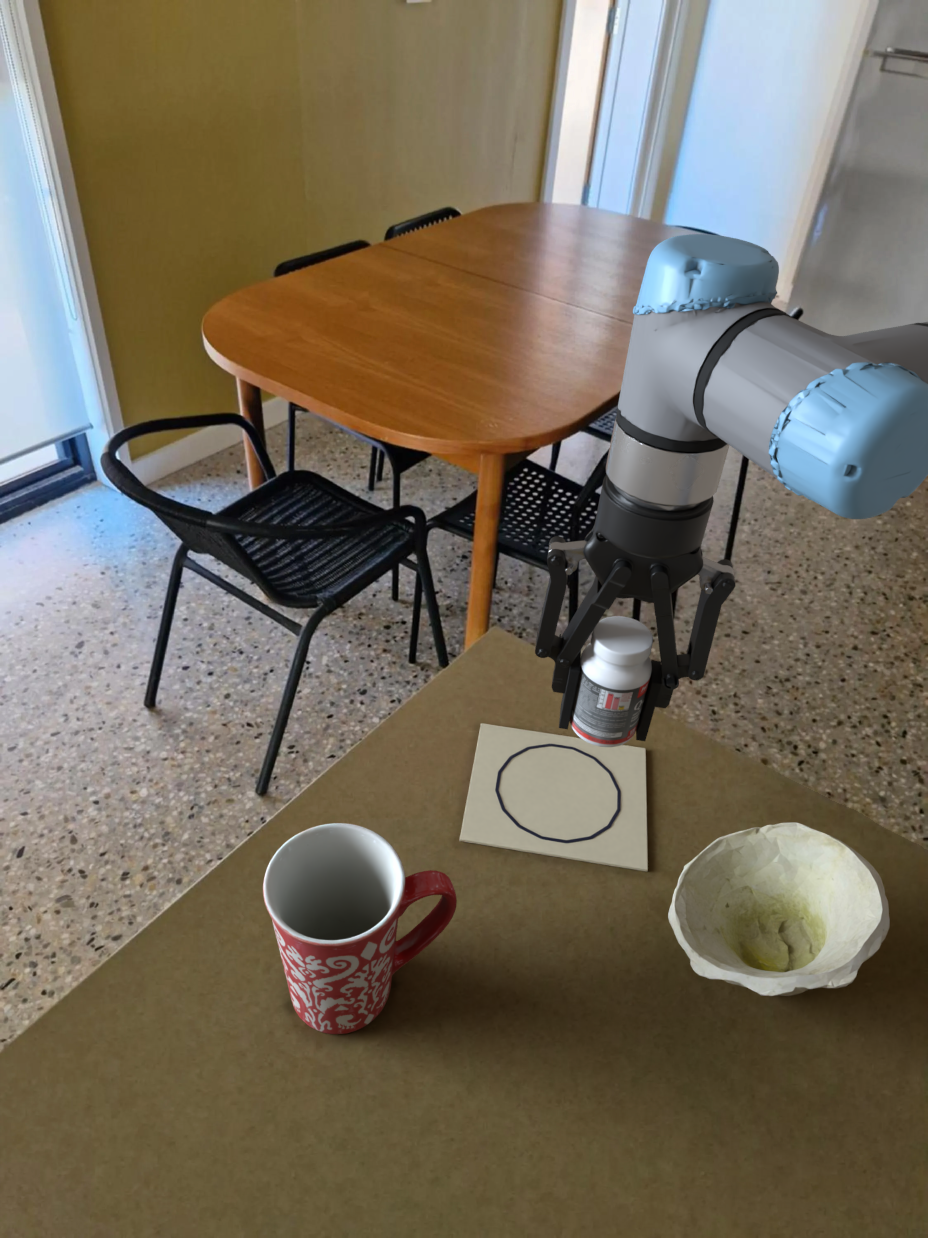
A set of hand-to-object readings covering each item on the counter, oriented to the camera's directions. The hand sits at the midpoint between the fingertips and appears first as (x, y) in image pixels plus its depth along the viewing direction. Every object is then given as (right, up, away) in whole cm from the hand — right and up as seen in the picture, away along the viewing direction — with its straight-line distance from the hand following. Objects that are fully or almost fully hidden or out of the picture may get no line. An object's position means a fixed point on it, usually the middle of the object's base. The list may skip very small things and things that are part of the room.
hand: (602, 722), depth 74 cm
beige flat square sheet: (-3, -7, +6) cm, 10 cm away
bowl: (+11, -18, -5) cm, 21 cm away
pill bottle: (0, 0, 0) cm, 0 cm away
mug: (-19, -18, -9) cm, 28 cm away
